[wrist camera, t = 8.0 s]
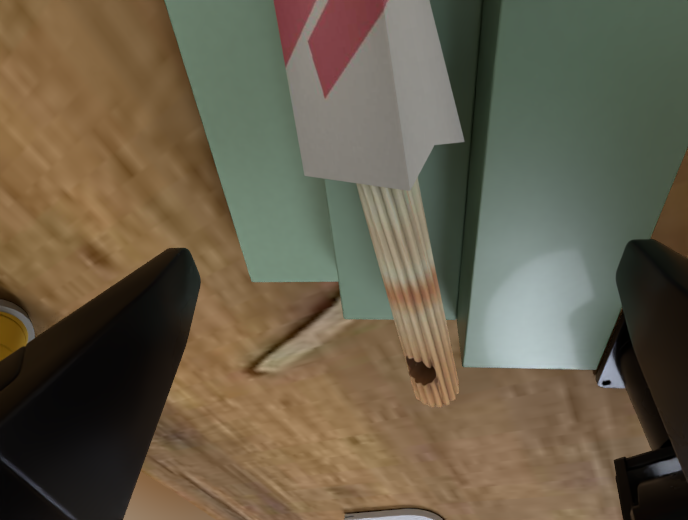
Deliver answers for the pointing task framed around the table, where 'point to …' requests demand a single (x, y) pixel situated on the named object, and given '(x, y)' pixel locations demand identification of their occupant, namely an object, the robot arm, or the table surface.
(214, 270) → the table surface
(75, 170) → the table surface
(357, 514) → the hand saw
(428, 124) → the paintbrush
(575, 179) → the staircase
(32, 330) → the yellow cone with collar
